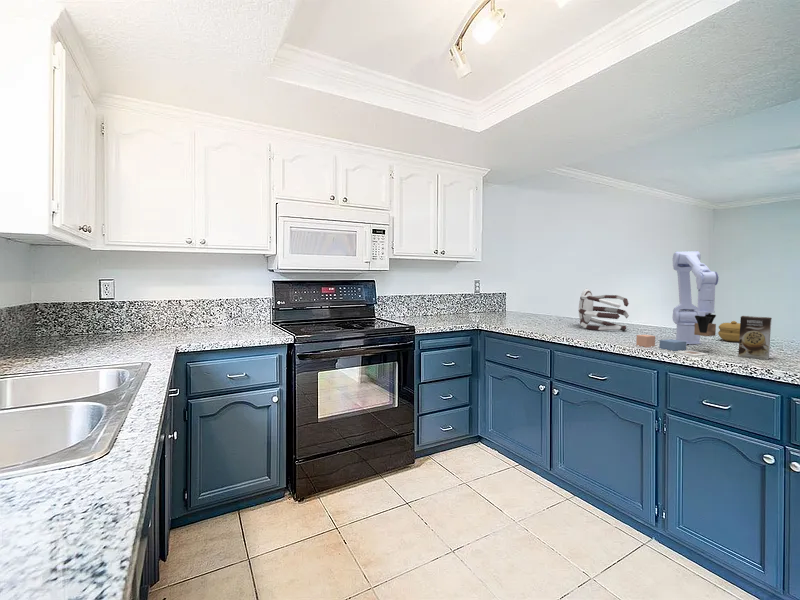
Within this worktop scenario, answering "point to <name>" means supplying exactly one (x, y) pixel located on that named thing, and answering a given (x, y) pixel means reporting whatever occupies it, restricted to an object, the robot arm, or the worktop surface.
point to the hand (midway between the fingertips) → (704, 331)
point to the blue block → (672, 345)
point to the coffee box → (754, 337)
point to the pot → (730, 331)
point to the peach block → (645, 340)
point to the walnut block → (710, 331)
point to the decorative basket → (588, 308)
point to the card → (692, 353)
